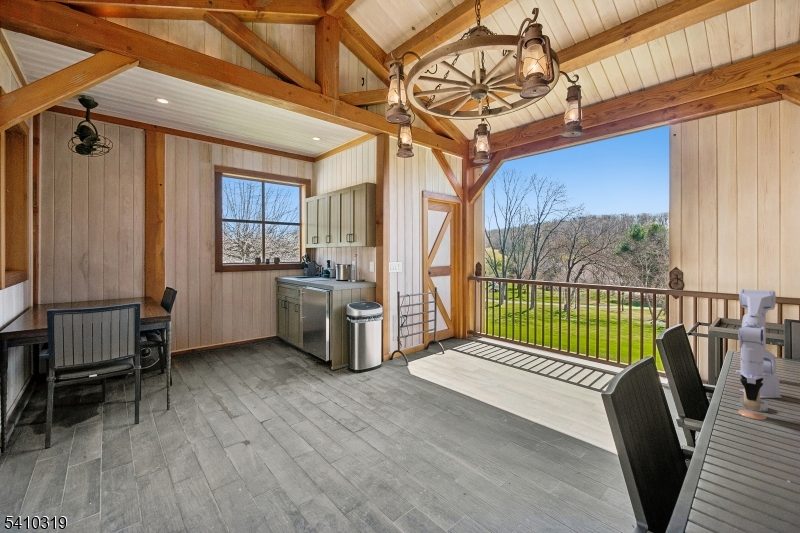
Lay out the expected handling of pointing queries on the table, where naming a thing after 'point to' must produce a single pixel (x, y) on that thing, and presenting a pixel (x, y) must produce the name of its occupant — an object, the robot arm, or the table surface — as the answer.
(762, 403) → the collar
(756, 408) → the peg
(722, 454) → the table surface
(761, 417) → the coaster
